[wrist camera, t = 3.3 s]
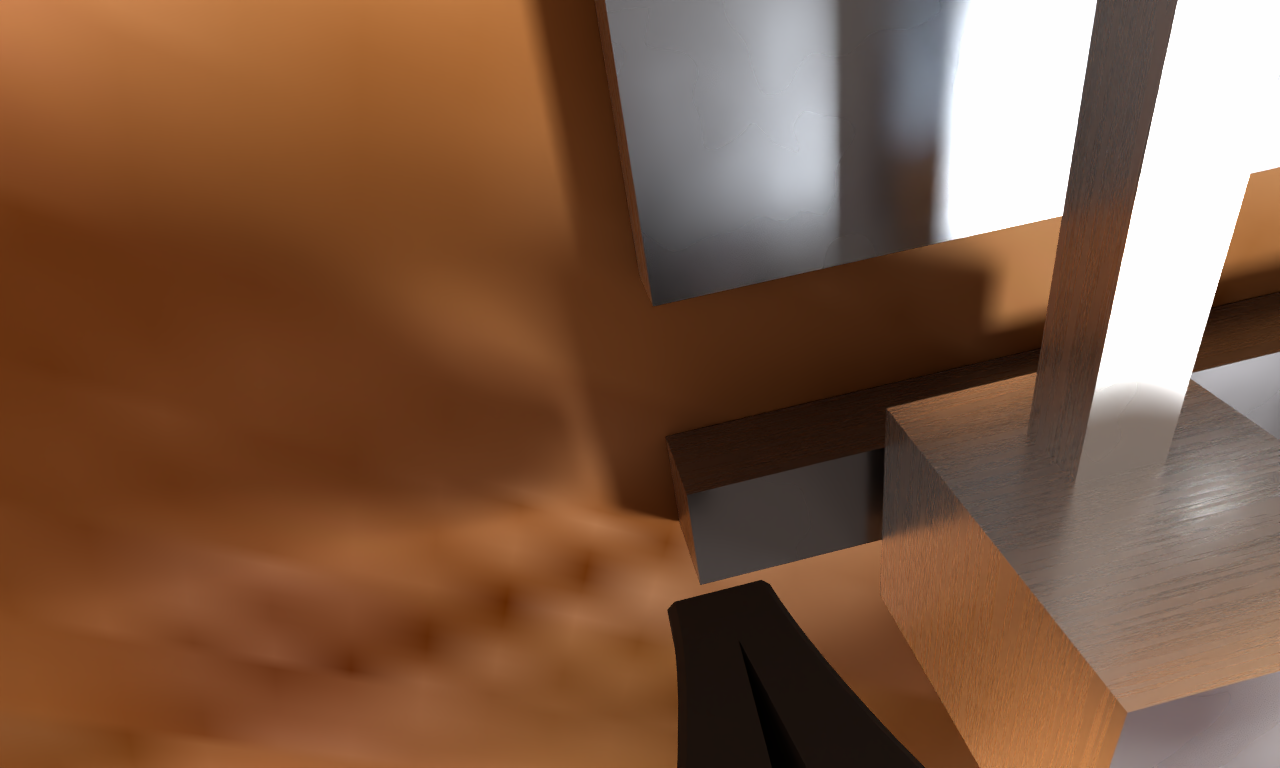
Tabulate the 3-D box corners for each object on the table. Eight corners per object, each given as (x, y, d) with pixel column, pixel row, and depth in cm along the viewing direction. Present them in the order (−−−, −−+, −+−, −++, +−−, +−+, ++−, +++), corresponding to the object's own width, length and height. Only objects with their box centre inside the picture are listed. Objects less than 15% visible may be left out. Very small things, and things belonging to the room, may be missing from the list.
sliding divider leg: (1089, 531, 14) (1365, 821, 10) (875, 586, 14) (1062, 909, 10) (1276, -255, 8) (2230, -400, 4) (896, -185, 8) (1452, -257, 3)
